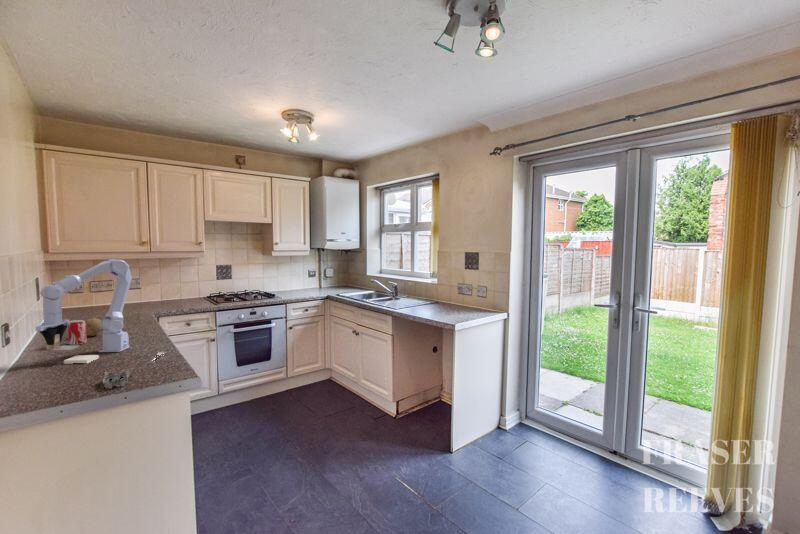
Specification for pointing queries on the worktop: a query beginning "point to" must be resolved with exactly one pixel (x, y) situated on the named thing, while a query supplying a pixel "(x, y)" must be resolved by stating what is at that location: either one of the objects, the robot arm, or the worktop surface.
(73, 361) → the tile
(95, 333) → the natural sponge
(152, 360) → the fork
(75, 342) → the red and white box
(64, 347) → the beige l-shaped block
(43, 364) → the worktop surface
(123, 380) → the egg carton
